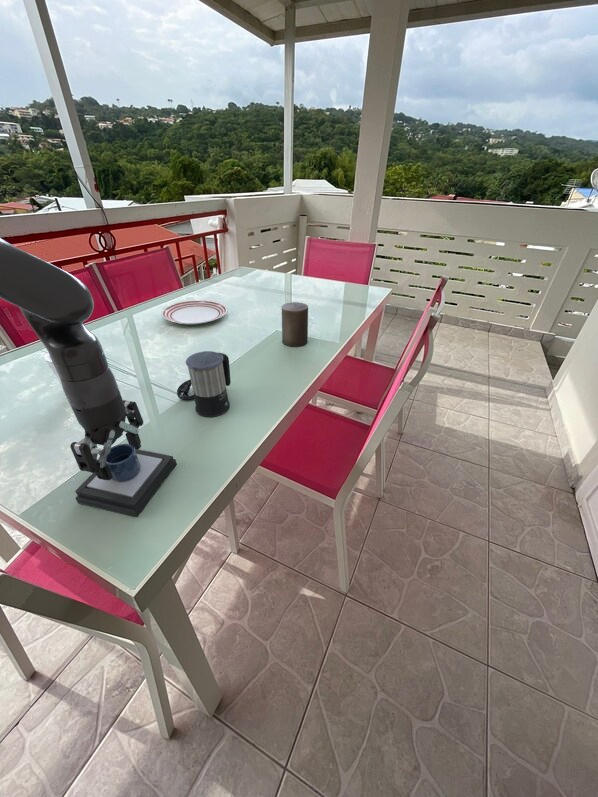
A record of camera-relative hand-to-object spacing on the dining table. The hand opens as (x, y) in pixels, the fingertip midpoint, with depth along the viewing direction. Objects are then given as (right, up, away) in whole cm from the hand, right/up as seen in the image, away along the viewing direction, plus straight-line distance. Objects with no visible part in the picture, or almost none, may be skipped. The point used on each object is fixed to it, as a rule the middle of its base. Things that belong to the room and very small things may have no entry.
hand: (122, 462), depth 65 cm
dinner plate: (-10, +48, +80) cm, 94 cm away
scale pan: (0, -3, +2) cm, 4 cm away
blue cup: (0, -2, +2) cm, 3 cm away
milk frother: (+8, +11, +27) cm, 31 cm away
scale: (0, -5, +3) cm, 6 cm away
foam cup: (-27, +14, +30) cm, 43 cm away
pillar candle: (+33, +34, +61) cm, 77 cm away
